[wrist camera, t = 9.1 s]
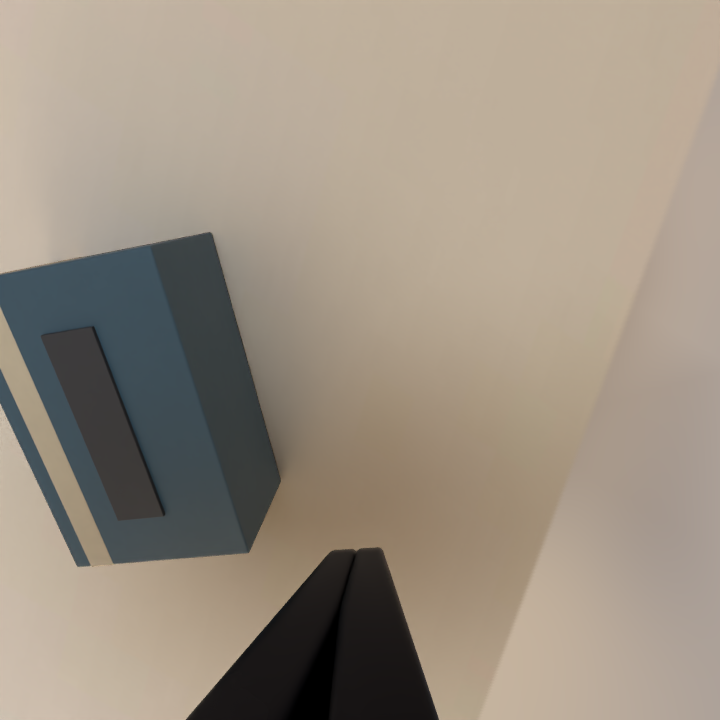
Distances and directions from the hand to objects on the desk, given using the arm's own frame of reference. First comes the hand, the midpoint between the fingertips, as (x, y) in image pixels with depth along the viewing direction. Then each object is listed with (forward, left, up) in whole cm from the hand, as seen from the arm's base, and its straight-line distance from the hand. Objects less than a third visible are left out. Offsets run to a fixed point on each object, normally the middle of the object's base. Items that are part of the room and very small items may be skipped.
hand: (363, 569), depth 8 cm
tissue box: (+5, +8, -9) cm, 13 cm away
